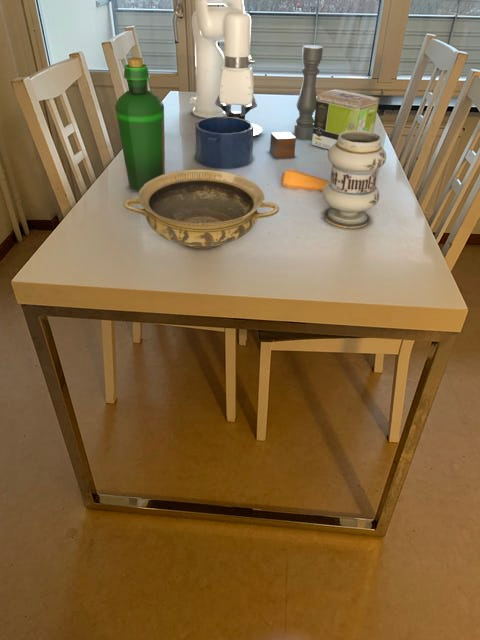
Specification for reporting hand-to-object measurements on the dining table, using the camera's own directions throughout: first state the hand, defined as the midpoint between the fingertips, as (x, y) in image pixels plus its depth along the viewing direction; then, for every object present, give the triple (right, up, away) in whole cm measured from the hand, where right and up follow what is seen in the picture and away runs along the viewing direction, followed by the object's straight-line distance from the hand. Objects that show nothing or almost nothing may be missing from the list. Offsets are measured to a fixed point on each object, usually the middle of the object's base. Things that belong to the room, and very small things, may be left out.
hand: (235, 127), depth 152 cm
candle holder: (+21, -3, +1) cm, 22 cm away
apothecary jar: (+25, -38, -44) cm, 63 cm away
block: (+13, -13, -13) cm, 23 cm away
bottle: (-21, -28, -34) cm, 49 cm away
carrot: (+21, -29, -32) cm, 48 cm away
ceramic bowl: (-6, -44, -54) cm, 70 cm away
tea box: (+32, -9, -7) cm, 33 cm away
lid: (0, -1, +1) cm, 1 cm away
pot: (-3, -15, -17) cm, 23 cm away
